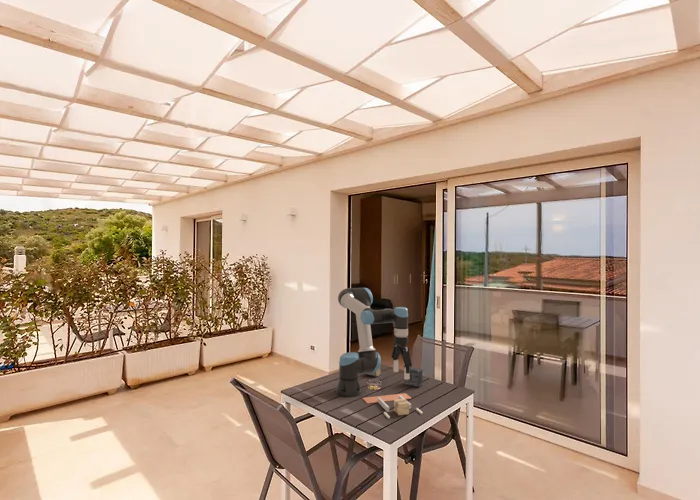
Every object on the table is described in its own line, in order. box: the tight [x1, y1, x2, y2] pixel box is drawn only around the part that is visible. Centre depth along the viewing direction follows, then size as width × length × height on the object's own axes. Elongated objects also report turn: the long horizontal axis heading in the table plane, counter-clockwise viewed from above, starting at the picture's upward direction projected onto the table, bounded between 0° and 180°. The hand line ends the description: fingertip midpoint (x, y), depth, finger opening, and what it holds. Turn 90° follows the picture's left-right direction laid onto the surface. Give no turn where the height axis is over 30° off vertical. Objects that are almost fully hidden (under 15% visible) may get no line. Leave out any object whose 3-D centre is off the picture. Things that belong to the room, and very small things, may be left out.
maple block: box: [393, 399, 410, 416], centre depth 196 cm, size 6×6×6 cm
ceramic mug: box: [366, 366, 382, 377], centre depth 258 cm, size 11×8×8 cm
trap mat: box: [362, 392, 412, 405], centre depth 215 cm, size 8×28×1 cm, turn 107°
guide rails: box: [378, 395, 412, 413], centre depth 205 cm, size 14×14×2 cm
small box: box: [404, 366, 423, 388], centre depth 239 cm, size 11×6×10 cm, turn 58°
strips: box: [383, 407, 424, 419], centre depth 194 cm, size 6×20×1 cm, turn 107°
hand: (401, 375), depth 197 cm, fingers open, 13 cm apart
